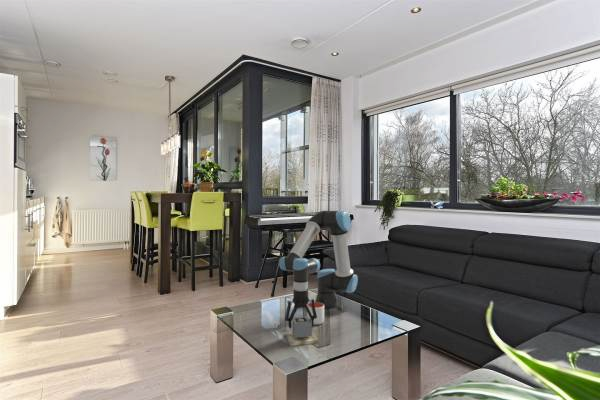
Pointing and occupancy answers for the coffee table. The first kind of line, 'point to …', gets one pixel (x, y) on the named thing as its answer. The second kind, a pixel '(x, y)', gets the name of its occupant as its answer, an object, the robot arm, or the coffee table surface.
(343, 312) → the coffee table surface
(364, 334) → the coffee table surface
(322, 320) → the cup
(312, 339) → the shaft block
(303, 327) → the collar
